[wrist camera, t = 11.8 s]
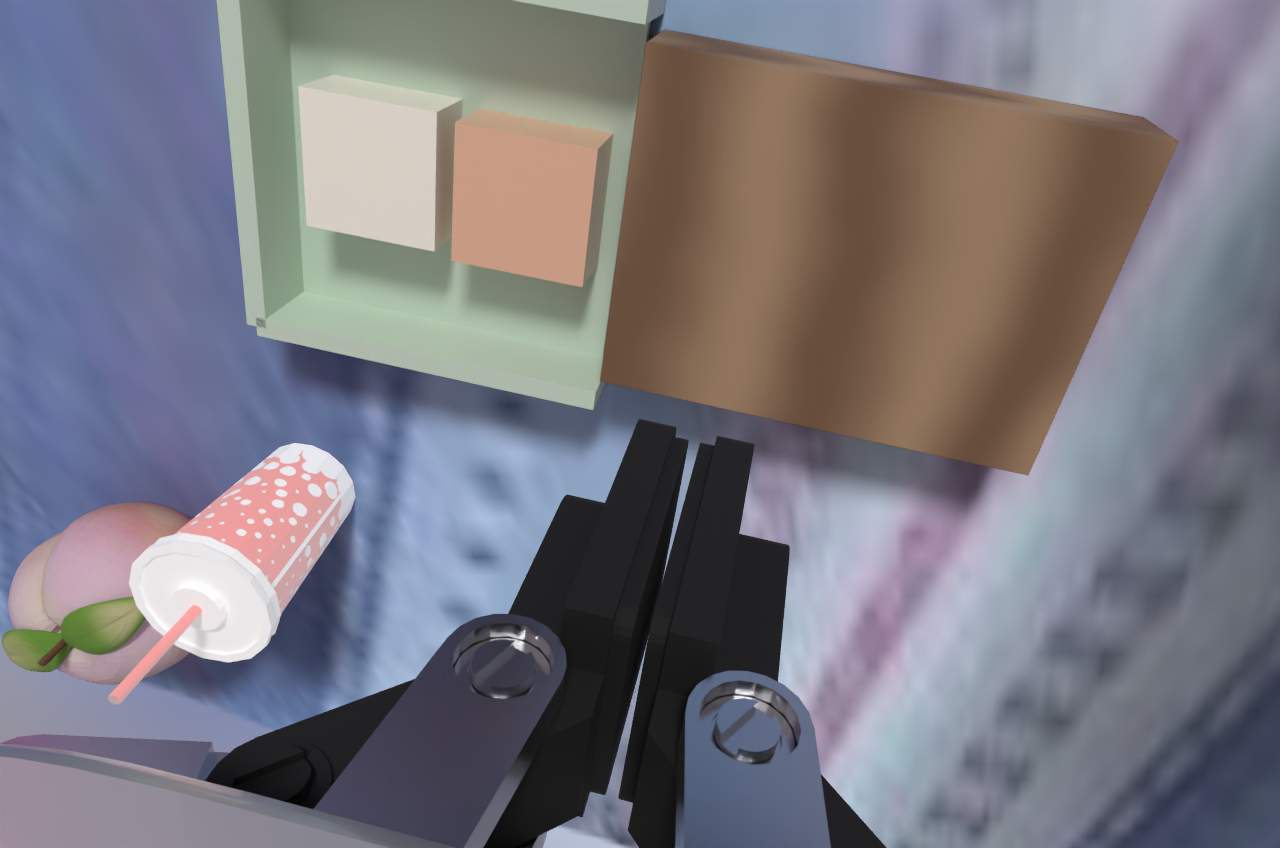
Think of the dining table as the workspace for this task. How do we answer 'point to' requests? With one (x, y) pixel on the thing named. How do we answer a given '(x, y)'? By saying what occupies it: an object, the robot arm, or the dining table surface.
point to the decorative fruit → (89, 597)
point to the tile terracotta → (529, 195)
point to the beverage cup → (240, 559)
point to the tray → (429, 281)
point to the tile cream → (378, 160)
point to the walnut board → (868, 246)
